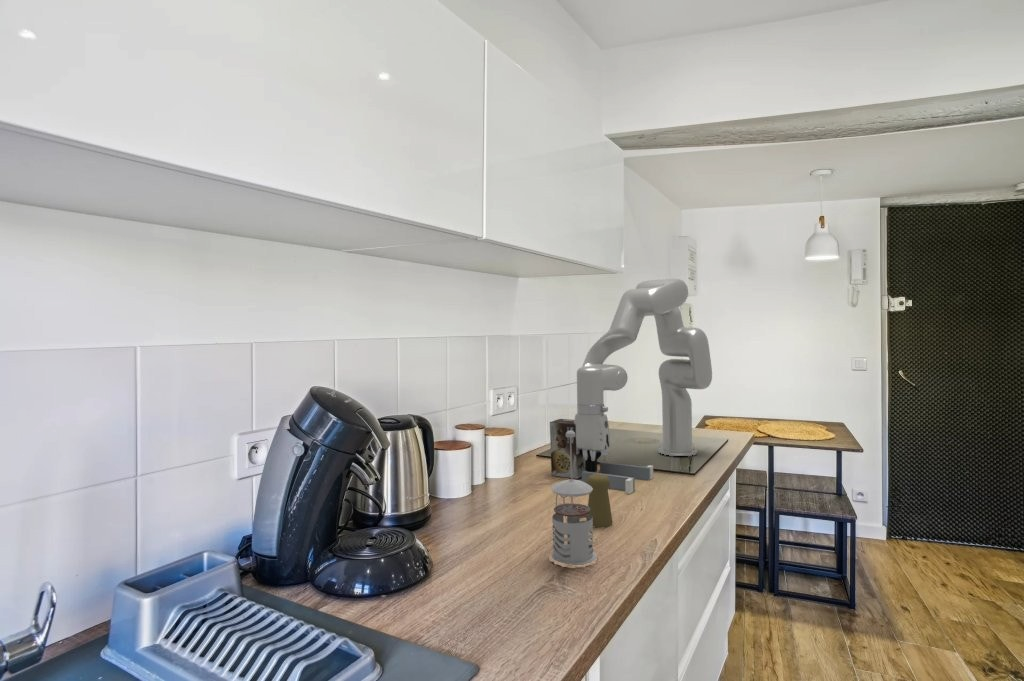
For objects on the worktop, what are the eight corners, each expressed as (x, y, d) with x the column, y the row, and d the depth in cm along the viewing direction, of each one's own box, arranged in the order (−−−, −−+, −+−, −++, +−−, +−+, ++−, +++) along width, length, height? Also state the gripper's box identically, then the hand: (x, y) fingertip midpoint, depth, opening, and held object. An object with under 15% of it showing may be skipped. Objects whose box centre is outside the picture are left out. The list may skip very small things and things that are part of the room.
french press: (558, 571, 111) (555, 437, 110) (538, 548, 123) (535, 426, 122) (607, 564, 114) (604, 433, 113) (582, 542, 125) (580, 423, 124)
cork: (616, 520, 138) (615, 473, 137) (606, 529, 133) (605, 479, 132) (592, 517, 141) (591, 470, 141) (581, 525, 136) (580, 476, 135)
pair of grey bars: (604, 471, 181) (604, 459, 181) (653, 477, 173) (653, 465, 173) (578, 486, 166) (577, 474, 166) (629, 494, 158) (629, 480, 158)
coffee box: (587, 474, 178) (586, 420, 178) (577, 479, 173) (576, 423, 173) (561, 470, 184) (560, 417, 183) (550, 475, 179) (549, 421, 178)
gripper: (619, 409, 172) (620, 473, 173) (572, 406, 180) (573, 467, 181) (609, 413, 166) (610, 479, 166) (561, 410, 174) (562, 473, 174)
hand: (591, 473), depth 173 cm, fingers closed
